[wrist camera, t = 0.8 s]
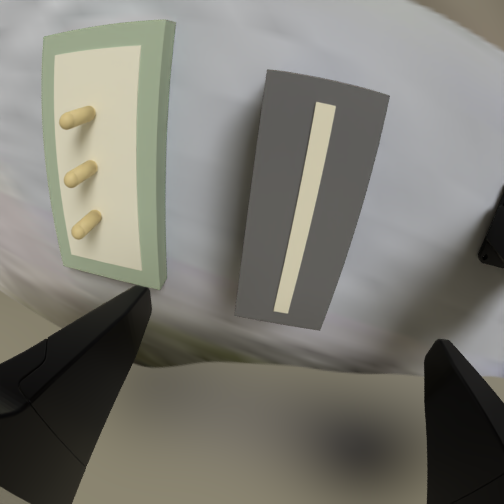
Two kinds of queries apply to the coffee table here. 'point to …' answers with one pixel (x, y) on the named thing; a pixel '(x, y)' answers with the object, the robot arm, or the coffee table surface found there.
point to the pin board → (109, 146)
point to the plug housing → (305, 195)
